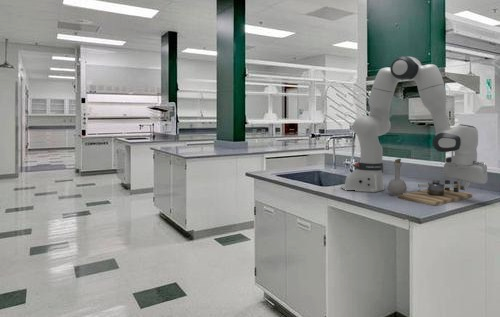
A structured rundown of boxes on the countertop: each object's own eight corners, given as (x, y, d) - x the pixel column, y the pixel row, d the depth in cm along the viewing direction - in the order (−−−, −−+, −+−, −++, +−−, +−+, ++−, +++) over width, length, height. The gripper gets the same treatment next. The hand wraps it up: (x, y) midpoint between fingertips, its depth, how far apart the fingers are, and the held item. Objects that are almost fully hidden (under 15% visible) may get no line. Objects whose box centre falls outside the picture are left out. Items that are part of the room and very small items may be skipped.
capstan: (421, 195, 165) (421, 181, 164) (415, 192, 172) (415, 179, 171) (465, 195, 164) (466, 181, 163) (457, 192, 171) (458, 179, 170)
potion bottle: (404, 196, 170) (406, 159, 168) (385, 194, 175) (386, 158, 173) (407, 193, 178) (409, 157, 176) (388, 191, 182) (390, 157, 180)
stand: (434, 205, 153) (435, 191, 152) (398, 198, 168) (398, 184, 167) (472, 196, 169) (473, 183, 168) (435, 190, 184) (436, 178, 183)
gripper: (492, 162, 153) (490, 194, 155) (451, 157, 172) (450, 185, 174) (481, 163, 151) (479, 195, 153) (441, 158, 170) (440, 186, 172)
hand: (463, 189), depth 163 cm, fingers closed
